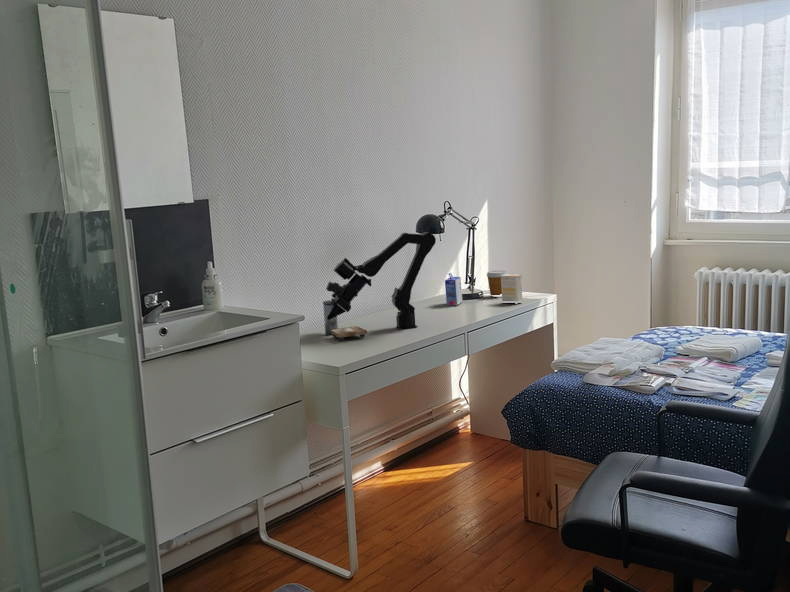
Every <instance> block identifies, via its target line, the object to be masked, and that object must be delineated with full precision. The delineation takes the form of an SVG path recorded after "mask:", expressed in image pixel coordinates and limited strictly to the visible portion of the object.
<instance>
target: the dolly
mask: <svg viewBox="0 0 790 592" xmlns="http://www.w3.org/2000/svg"><path fill="white" fill-rule="evenodd" d="M330 333H331V334H333V335H332V337H333V338H337V337H338V338H339V340H340V341H341V342H342V341H345V339H346V338H347V337H354V336H359V337H360V338H362V339H363V338H365V336H366V334H368V329H364V328H363V327H360V326H357V325H355V326H354V325H352V326H348V327H338V329H331V330H330ZM345 337H346V338H345Z"/></svg>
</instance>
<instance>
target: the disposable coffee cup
mask: <svg viewBox="0 0 790 592" xmlns="http://www.w3.org/2000/svg"><path fill="white" fill-rule="evenodd" d="M504 274H507V272H506V270H489V271H487V273H486V277H487V282H488V288H489V293H490V294H489V295H490V296H491V295H500V294H502V289H501V275H504Z"/></svg>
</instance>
